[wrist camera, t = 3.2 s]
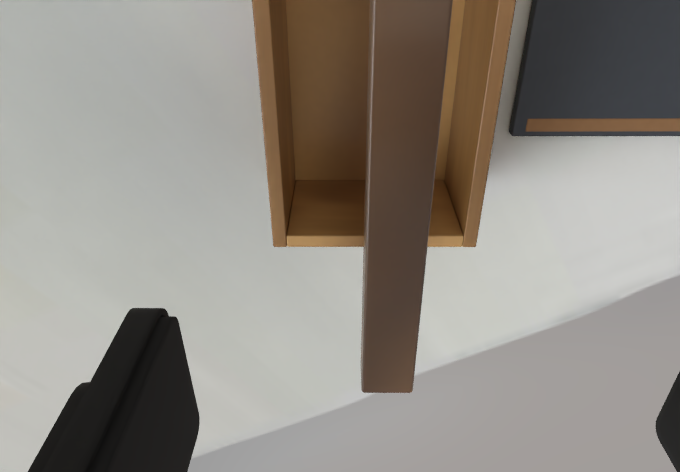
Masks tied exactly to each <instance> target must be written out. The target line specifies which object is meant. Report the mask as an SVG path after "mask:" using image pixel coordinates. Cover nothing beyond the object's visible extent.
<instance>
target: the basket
mask: <svg viewBox="0 0 680 472" xmlns="http://www.w3.org/2000/svg"><path fill="white" fill-rule="evenodd" d="M515 3H516V0H252V5H253V17H254V28H255V40H256V51H257V63H258V74H259V86H260V97H261V109H262V120H263V132H264V143H265V155H266V166H267V178H268V189H269V201H270V212H271V224H272V235H273V246H274V247H286V246H288V247H364V255H363V296H362V337H361V385H362V391H363V392H364V393H387V392H388V393H399V392H400V393H410V392H412V390H413V381H414V371H415V361H416V352H417V342H418V332H419V323H420V313H421V303H422V294H423V284H424V274H425V265H426V255H427V247H461V246H463V247H475V246H476V242H477V236H478V230H479V224H480V218H481V211H482V205H483V199H484V193H485V187H486V181H487V175H488V169H489V163H490V156H491V150H492V144H493V138H494V132H495V126H496V120H497V114H498V107H499V101H500V95H501V89H502V83H503V77H504V71H505V65H506V58H507V52H508V46H509V40H510V34H511V28H512V22H513V16H514V9H515Z"/></svg>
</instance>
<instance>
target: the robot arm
mask: <svg viewBox="0 0 680 472" xmlns="http://www.w3.org/2000/svg"><path fill="white" fill-rule="evenodd" d="M198 430H199V412H198V408H197V403H196V399H195V394H194V390H193V385H192V381H191V376H190V372H189V367H188V363H187V358H186V354H185V349H184V345H183V340H182V336H181V331H180V327H179V323H178V319H177V318H176V317H169V316H168V313H167V311H166V310H165V309H163V308H132V309H131V310H129V312H128V313H127V315H126V317H125V319H124V320H123V322H122V324H121V326H120V328H119V330H118V332H117V333H116V335H115V337H114V339H113V341H112V343H111V345H110V346H109V348H108V350H107V352H106V354H105V356H104V358H103V359H102V361H101V363H100V365H99V367H98V369H97V371H96V372H95V374H94V376H93V378H92V380H91V382H87V383H82V384H80V385H79V386H78V387H76V389H75V390H74V392H73V393H72V394H71V396H70V398H69V399H68V401H67V403H66V405H65V407H64V408H63V410H62V412H61V414H60V415H59V417H58V419H57V421H56V423H55V424H54V426H53V428H52V430H51V431H50V433H49V435H48V437H47V439H46V440H45V442H44V444H43V446H42V447H41V449H40V451H39V453H38V455H37V456H36V458H35V460H34V462H33V463H32V465H31V467H30V469H29V471H28V472H187V471H188V467H189V464H190V460H191V456H192V453H193V449H194V446H195V442H196V439H197V435H198ZM656 432H657V436H658V438H659V440H660V443H661V444H662V446H663V448H664V449H665V451H666V453H667V455H668V457H669V458H670V460H671V462H672V463H673V465H674V467H675V469H676V471H677V472H680V372H679V374H678V376H677V378H676V380H675V382H674V384H673V387H672V388H671V391H670V393H669V395H668V397H667V399H666V401H665V403H664V405H663V407H662V409H661V411H660V413H659V416H658V417H657V420H656Z"/></svg>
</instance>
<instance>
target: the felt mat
mask: <svg viewBox="0 0 680 472" xmlns="http://www.w3.org/2000/svg"><path fill="white" fill-rule="evenodd" d="M509 132H510V134H511V135H512V136H680V0H533V2H532V7H531V13H530V19H529V24H528V30H527V35H526V41H525V46H524V52H523V58H522V63H521V69H520V74H519V80H518V85H517V91H516V97H515V102H514V108H513V113H512V119H511V125H510V130H509Z"/></svg>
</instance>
